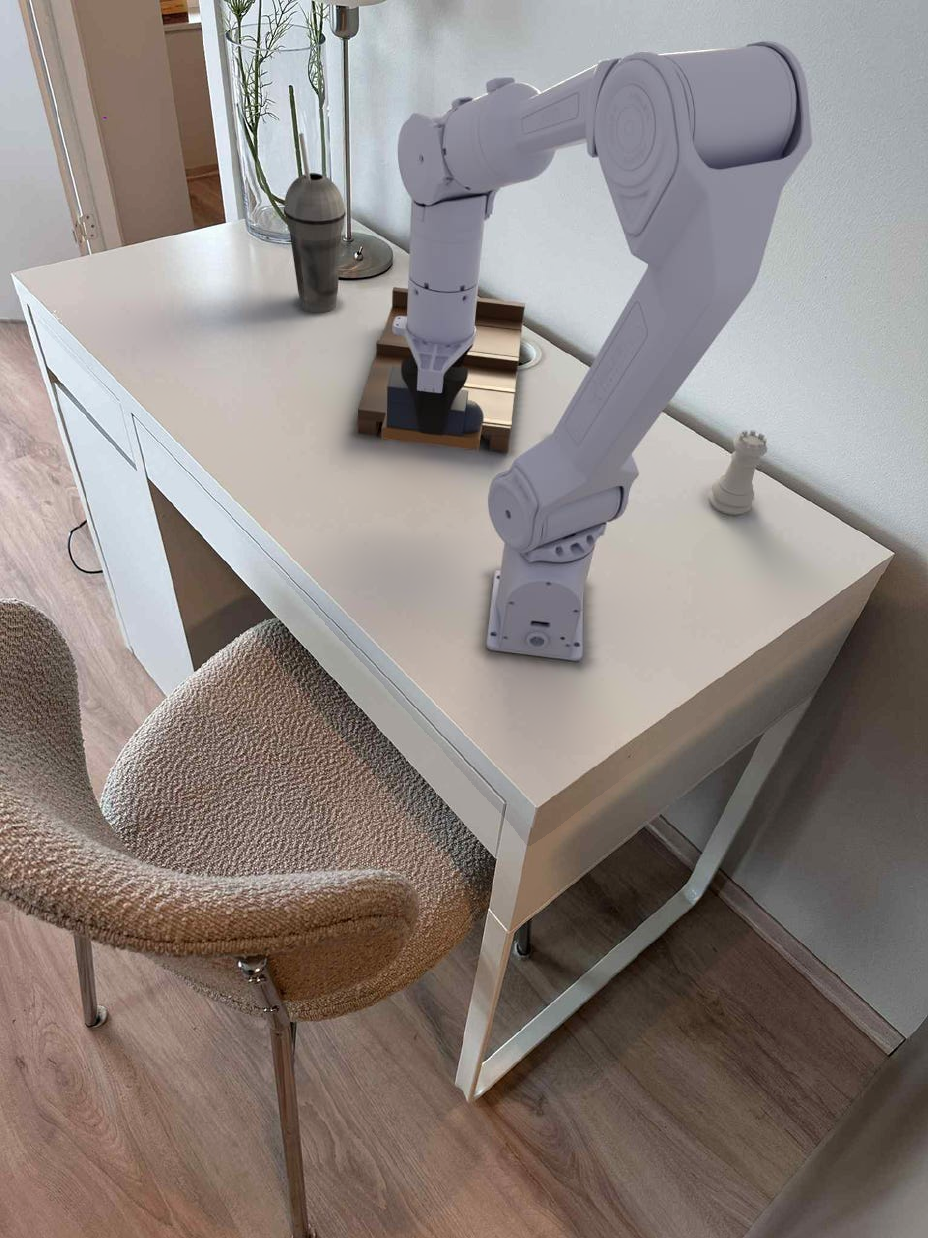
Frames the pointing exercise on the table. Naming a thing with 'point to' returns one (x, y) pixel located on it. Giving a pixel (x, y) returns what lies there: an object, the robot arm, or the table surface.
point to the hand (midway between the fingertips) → (434, 419)
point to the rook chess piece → (739, 475)
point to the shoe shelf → (485, 360)
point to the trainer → (404, 425)
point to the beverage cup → (315, 236)
